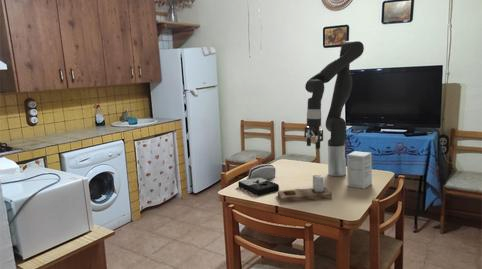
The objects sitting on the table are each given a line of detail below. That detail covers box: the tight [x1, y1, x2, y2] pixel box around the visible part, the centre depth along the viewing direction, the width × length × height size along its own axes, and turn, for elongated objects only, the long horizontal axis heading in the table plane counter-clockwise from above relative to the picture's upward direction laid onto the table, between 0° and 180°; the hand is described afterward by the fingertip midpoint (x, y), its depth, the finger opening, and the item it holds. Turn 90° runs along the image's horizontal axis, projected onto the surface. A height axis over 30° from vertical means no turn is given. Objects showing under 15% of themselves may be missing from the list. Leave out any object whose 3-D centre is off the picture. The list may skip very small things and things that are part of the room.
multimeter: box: [237, 177, 280, 197], centre depth 192 cm, size 13×19×5 cm
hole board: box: [277, 186, 333, 204], centre depth 176 cm, size 24×10×3 cm, turn 95°
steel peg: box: [312, 174, 325, 194], centre depth 176 cm, size 4×4×10 cm
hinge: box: [246, 163, 276, 180], centre depth 207 cm, size 17×5×10 cm, turn 116°
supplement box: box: [346, 150, 373, 189], centre depth 188 cm, size 10×9×17 cm
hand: (313, 147), depth 197 cm, fingers open, 8 cm apart
